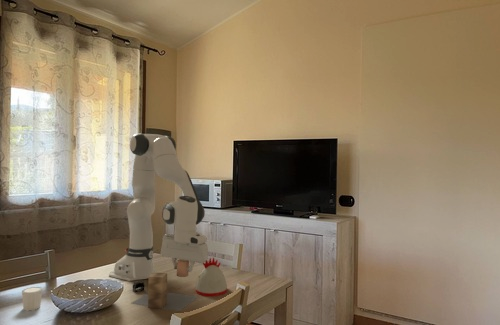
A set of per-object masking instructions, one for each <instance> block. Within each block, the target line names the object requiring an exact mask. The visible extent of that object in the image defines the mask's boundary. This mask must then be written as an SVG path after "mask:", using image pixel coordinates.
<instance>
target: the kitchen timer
mask: <svg viewBox="0 0 500 325" xmlns="http://www.w3.org/2000/svg"><path fill="white" fill-rule="evenodd" d="M202 265H203V267H204V268H203V269H202V270H201V272H200V273H199V275H198V277H197V279H196V283H195V284H196V285H195V293H196V294H197V295H200V296H205V297H216V296H221V295H224V294H226V293H227V292H228V291H227V290H228V287H227V286H228V285H227V281H226V277H225V274H224V273H223V271H222V269H221V268H220V266H221V262H220V261H219V262H218V259H216V260H215V258H214V257H209V259H207V260H206V261H205V262H203V263H202Z"/></svg>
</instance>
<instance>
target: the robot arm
mask: <svg viewBox="0 0 500 325" xmlns="http://www.w3.org/2000/svg"><path fill="white" fill-rule="evenodd" d="M129 148H130V151H131V153H132V154H133V155H134V160H133V164H132V165H133V166H132V180H131V187H132V194H133V198H132V199H133V200H132V201H131V202H129V204H128V206H127V208H126V215H127V218H128V219H127V222H128V227H129V247H127V248H125V249H124V252H126V254H124V256H122V257H121V258H120V259H119V260H117V261H116V262H115V263H114V268H113V270H112V271H111V272H109V273H108V276H109V277H111V278H116V279H119V280H123V281H128V282H131V281H141V280H146V279H149V276H150V275H152V274H153V273H154V272H155V269H154V268H155V267H154V261H153V258H154V246H153V241H154V240H153V239H154V238H153V235H154V234H153V232H154V231H153V226H152V215H153V214H154V213H155V211H156V190H155V189H156V175H157V176H158V177H159V178H161V179H162V180H165V181H168V182H171V183H173V184H175V185H177V186H178V187H179V188H180V189H181V190H182V194H183V195H181V196H178V197H177V199H176V200H174V201H171V202H167V203H166V204H165V205H164V206H163V209H162V213H161V214H162V216H161V218H162V220H163V221H164V223H166V225H170V226H175V227H174V233H173V234H171V233H170V234H169V233H166V234H164V235H163V236H162V242H161V243H162V244H161V247H160V255H161V256H162V257H165V258H171V262H172V265H173V270H177V260H179V259H182V260H188V261H189V267H187V271H188V272H190V273H191V272H193V267H194V266H195V264H196V263H201V264H203V262H204V263H205V261H206V260H207V261H208V260H209V259H208V257H209V247H208V244H207V240H208V237H207V236H205V235H203V234H202V233H200V232H198V231H197V225H199V224H200V223H202V221H203V220H204V218H205V214H206V211H205V208H204V206H203V204H202V202H201V201H200V199H199V197H198V194H197V192H196V189H195V186H194V184H193V182H192V178H191V177H190V175H189V173H188V171H187V170H186V169H184V168H183V167H182V165H181V163H180V161H179V158H178V155H177V151H176V149H177V144H176V141H175V139H174V138H173V137H172V136H169V135H164V134H163V135H162V134H158V133H157V134H156V133H153V134H152V133H135V134H133V136H132V137H131V138H130V142H129ZM155 273H156V272H155Z"/></svg>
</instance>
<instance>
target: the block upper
mask: <svg viewBox="0 0 500 325" xmlns="http://www.w3.org/2000/svg"><path fill="white" fill-rule="evenodd" d="M166 289H167V290H168V273H167V272H154V273H153V274H152V275H150V276H149V278H148V292H155V293H162V292H164V291H165V290H166ZM148 292H147V293H148Z"/></svg>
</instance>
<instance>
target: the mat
mask: <svg viewBox="0 0 500 325" xmlns="http://www.w3.org/2000/svg"><path fill="white" fill-rule="evenodd" d="M197 298H198V296H194V295H188V294H183V293H182V294H181V293H175V292H168V291H167V303H166V304H165V305H164V307H163V308H162V309H163V310H168V311H169V310H170V311H177V312H181V311H182V310H184V309H185V308H186V307H187V306H189V304H191V303H192V302H194V301H195V300H197ZM130 304H132V305H139V306H145V307H148V292H147V293H145V295H142V296H140V297H139V298H137V299H135V300H134V301H132V302H131V303H130Z"/></svg>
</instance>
